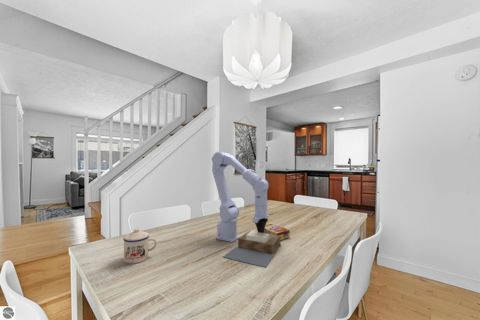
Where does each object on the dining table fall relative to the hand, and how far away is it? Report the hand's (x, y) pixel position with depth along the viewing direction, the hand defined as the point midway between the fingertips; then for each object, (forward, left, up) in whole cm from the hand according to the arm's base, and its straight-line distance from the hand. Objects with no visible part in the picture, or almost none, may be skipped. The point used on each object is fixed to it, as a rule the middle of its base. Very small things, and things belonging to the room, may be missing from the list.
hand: (260, 234), depth 95 cm
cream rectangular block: (0, -4, -1) cm, 4 cm away
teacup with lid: (-38, -34, -5) cm, 52 cm away
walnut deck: (0, -1, -5) cm, 5 cm away
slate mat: (0, -13, -5) cm, 14 cm away
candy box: (+8, +12, -3) cm, 14 cm away
